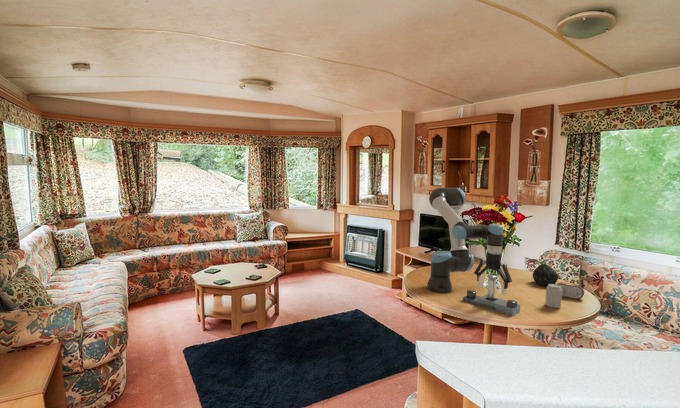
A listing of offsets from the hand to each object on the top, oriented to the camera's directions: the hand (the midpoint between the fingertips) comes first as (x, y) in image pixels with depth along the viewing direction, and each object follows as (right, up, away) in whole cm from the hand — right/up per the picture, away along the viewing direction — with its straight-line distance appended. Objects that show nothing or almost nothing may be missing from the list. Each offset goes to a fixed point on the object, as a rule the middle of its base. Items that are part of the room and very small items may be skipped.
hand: (491, 290), depth 202 cm
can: (+35, -10, +3) cm, 37 cm away
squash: (+52, -6, +41) cm, 67 cm away
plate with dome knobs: (0, -9, +1) cm, 9 cm away
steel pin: (0, -9, +1) cm, 9 cm away
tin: (+53, -8, +18) cm, 57 cm away
